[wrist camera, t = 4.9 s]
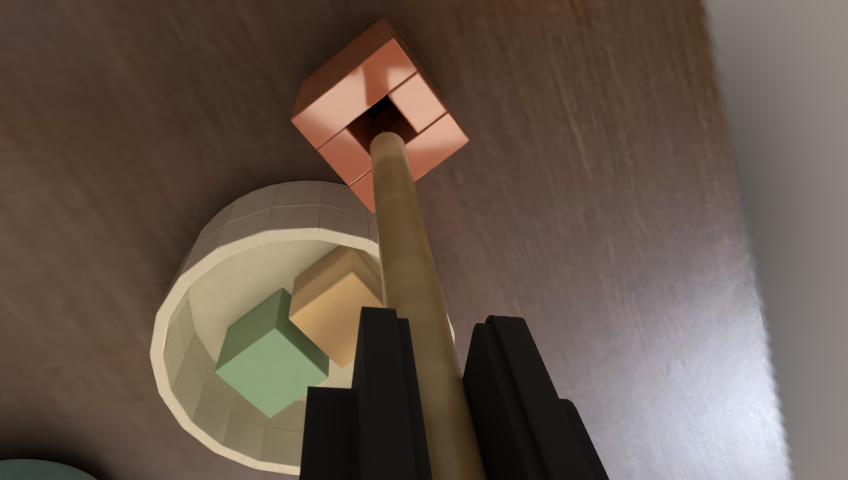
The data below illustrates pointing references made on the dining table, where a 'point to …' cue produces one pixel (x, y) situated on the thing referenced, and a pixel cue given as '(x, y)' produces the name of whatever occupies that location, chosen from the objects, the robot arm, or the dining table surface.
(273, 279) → the stir bowl
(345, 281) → the maple block
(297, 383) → the sage block
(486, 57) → the dining table surface
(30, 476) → the bowl
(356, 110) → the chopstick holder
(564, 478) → the robot arm
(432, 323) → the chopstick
